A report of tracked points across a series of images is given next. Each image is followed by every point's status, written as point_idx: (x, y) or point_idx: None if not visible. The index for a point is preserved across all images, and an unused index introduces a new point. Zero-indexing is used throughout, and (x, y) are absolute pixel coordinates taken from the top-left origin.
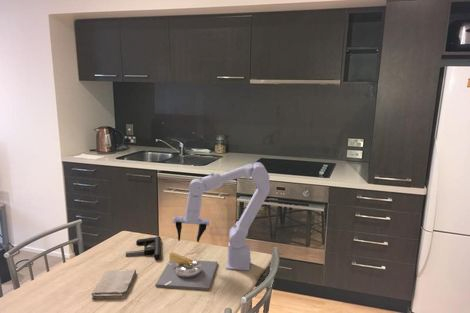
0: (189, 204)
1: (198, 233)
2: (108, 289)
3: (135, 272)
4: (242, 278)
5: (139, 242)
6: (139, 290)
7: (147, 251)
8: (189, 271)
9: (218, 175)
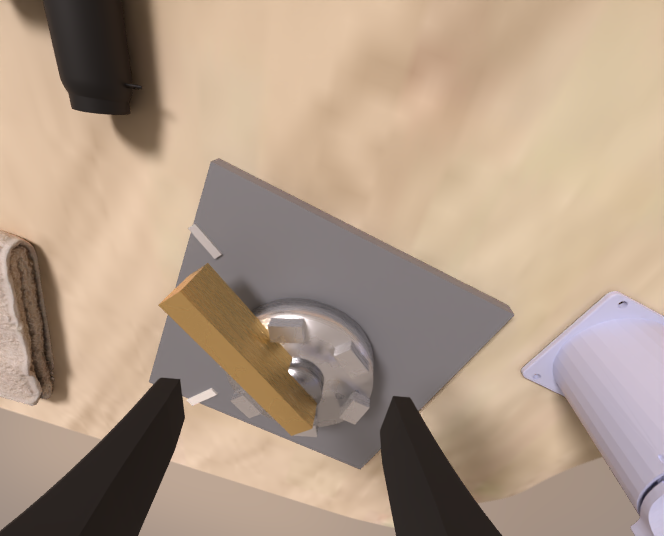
0: None
1: (414, 519)
2: None
3: (24, 245)
4: (537, 449)
5: None
6: (97, 371)
7: None
8: (289, 434)
9: None
